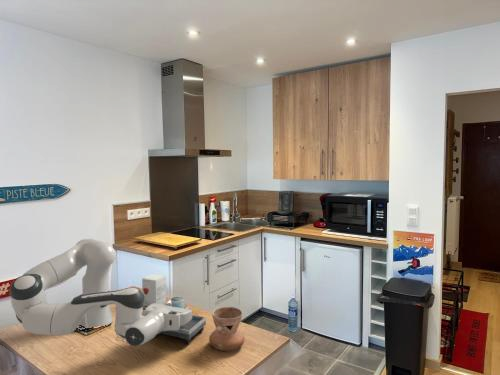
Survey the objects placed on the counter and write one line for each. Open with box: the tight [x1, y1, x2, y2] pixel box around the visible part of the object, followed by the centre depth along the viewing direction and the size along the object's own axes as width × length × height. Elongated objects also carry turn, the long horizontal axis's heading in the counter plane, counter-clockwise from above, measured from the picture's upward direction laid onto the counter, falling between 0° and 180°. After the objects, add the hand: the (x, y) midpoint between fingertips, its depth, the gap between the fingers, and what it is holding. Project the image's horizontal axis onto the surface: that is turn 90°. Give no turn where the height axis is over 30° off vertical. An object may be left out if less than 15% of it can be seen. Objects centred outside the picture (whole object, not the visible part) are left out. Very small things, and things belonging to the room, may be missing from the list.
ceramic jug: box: [208, 306, 246, 352], centre depth 144 cm, size 18×14×14 cm
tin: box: [170, 296, 185, 308], centre depth 152 cm, size 5×5×11 cm
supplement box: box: [141, 273, 167, 308], centre depth 185 cm, size 9×9×15 cm
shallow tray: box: [154, 314, 207, 345], centre depth 153 cm, size 20×14×6 cm
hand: (178, 306), depth 153 cm, fingers open, 8 cm apart
